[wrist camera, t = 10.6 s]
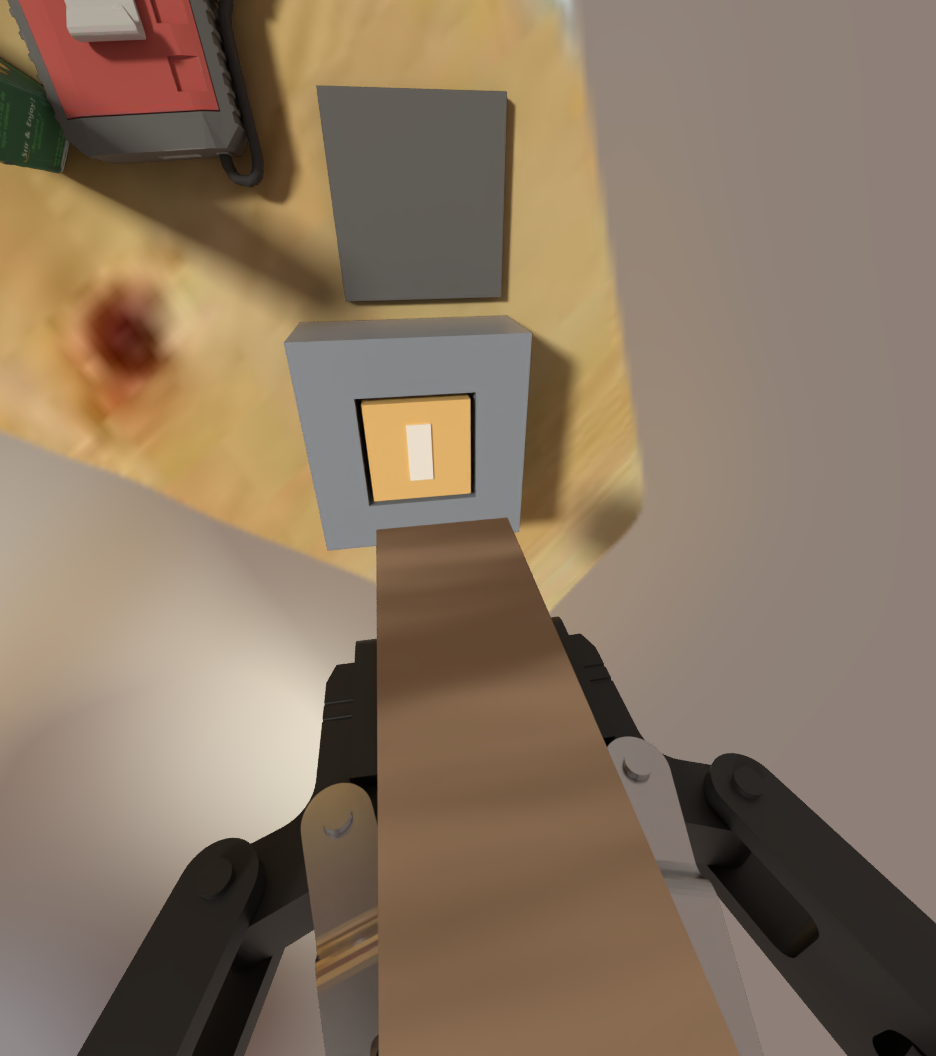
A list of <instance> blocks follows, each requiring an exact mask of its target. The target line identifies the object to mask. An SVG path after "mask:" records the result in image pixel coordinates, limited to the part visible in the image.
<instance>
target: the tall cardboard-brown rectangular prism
mask: <svg viewBox="0 0 936 1056" xmlns="http://www.w3.org/2000/svg"><path fill="white" fill-rule="evenodd" d="M376 554H377V778H378V1001H379V1056H740V1054H739V1052H738V1049H737V1047H736V1045H735V1042H734V1040H733V1038H732V1035H731V1033H730V1031H729V1028H728V1026H727V1024H726V1022H725V1019H724V1017H723V1015H722V1012H721V1010H720V1008H719V1005H718V1003H717V1001H716V998H715V996H714V994H713V991H712V989H711V987H710V985H709V982H708V980H707V978H706V975H705V973H704V971H703V968H702V966H701V964H700V961H699V959H698V957H697V954H696V952H695V950H694V948H693V945H692V943H691V941H690V938H689V936H688V934H687V931H686V929H685V927H684V924H683V922H682V920H681V917H680V915H679V913H678V911H677V908H676V906H675V904H674V901H673V899H672V897H671V894H670V892H669V890H668V887H667V885H666V883H665V880H664V878H663V876H662V874H661V871H660V869H659V867H658V864H657V862H656V860H655V857H654V855H653V853H652V850H651V848H650V846H649V844H648V841H647V839H646V837H645V834H644V832H643V830H642V827H641V825H640V823H639V820H638V818H637V816H636V813H635V811H634V809H633V807H632V804H631V802H630V800H629V797H628V795H627V793H626V790H625V788H624V786H623V783H622V781H621V779H620V776H619V774H618V772H617V770H616V767H615V765H614V763H613V760H612V758H611V756H610V753H609V751H608V749H607V746H606V744H605V742H604V739H603V737H602V735H601V733H600V730H599V728H598V726H597V723H596V721H595V719H594V716H593V714H592V712H591V709H590V707H589V705H588V702H587V700H586V698H585V696H584V693H583V691H582V689H581V686H580V684H579V682H578V679H577V677H576V675H575V672H574V670H573V668H572V665H571V663H570V661H569V659H568V656H567V654H566V652H565V649H564V647H563V645H562V642H561V640H560V638H559V635H558V633H557V631H556V628H555V626H554V624H553V622H552V619H551V617H550V615H549V612H548V610H547V608H546V605H545V603H544V601H543V598H542V596H541V594H540V591H539V589H538V587H537V585H536V582H535V580H534V578H533V575H532V573H531V571H530V568H529V566H528V564H527V561H526V559H525V557H524V554H523V552H522V550H521V548H520V545H519V543H518V541H517V538H516V536H515V534H514V531H513V529H512V527H511V524H510V522H509V520H508V517H506V518H496V519H485V520H474V521H463V522H453V523H442V524H431V525H421V526H410V527H399V528H389V529H378V530H376Z"/></svg>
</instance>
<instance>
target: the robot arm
mask: <svg viewBox="0 0 936 1056" xmlns="http://www.w3.org/2000/svg"><path fill="white" fill-rule="evenodd" d="M551 619H552V622H553V624H554V626H555V628H556V631H557V633H558V635H559V638H560V640H561V642H562V645H563V647H564V649H565V652H566V654H567V656H568V659H569V661H570V663H571V665H572V668H573V670H574V672H575V675H576V677H577V679H578V682H579V684H580V686H581V689H582V691H583V693H584V696H585V698H586V700H587V702H588V705H589V707H590V709H591V712H592V714H593V716H594V719H595V721H596V723H597V726H598V728H599V730H600V733H601V735H602V737H603V739H604V742H605V744H606V746H607V749H608V751H609V753H610V756H611V758H612V760H613V763H614V765H615V767H616V770H617V772H618V774H619V776H620V779H621V781H622V783H623V786H624V788H625V790H626V793H627V795H628V797H629V800H630V802H631V804H632V807H633V809H634V811H635V813H636V816H637V818H638V820H639V823H640V825H641V827H642V830H643V832H644V834H645V837H646V839H647V841H648V844H649V846H650V848H651V850H652V853H653V855H654V857H655V860H656V862H657V864H658V867H659V869H660V871H661V874H662V876H663V878H664V880H665V883H666V885H667V887H668V890H669V892H670V894H671V897H672V899H673V901H674V904H675V906H676V908H677V911H678V913H679V915H680V917H681V920H682V922H683V924H684V927H685V929H686V931H687V934H688V936H689V938H690V941H691V943H692V945H693V948H694V950H695V952H696V954H697V957H698V959H699V961H700V964H701V966H702V968H703V971H704V973H705V975H706V978H707V980H708V982H709V985H710V987H711V989H712V991H713V994H714V996H715V998H716V1001H717V1003H718V1005H719V1008H720V1010H721V1012H722V1015H723V1017H724V1019H725V1022H726V1024H727V1026H728V1028H729V1031H730V1033H731V1035H732V1038H733V1040H734V1042H735V1045H736V1047H737V1049H738V1052H739V1054H740V1056H764V1054H763V1051H762V1047H761V1044H760V1041H759V1037H758V1034H757V1031H756V1027H755V1023H754V1020H753V1017H752V1013H751V1009H750V1006H749V1002H748V999H747V996H746V992H745V989H744V985H743V982H742V978H741V975H740V971H739V968H738V965H737V961H736V958H735V954H734V951H733V947H732V944H731V940H730V937H729V933H728V930H727V926H726V923H725V919H724V916H723V912H722V909H721V905H720V902H719V899H718V897H719V898H720V899H721V901H722V902H723V903H724V904H725V906H726V907H727V908H728V909H729V910H730V912H731V913H732V914H733V915H734V917H735V918H736V919H737V920H738V922H739V923H740V924H741V925H742V927H743V928H744V929H745V930H746V931H747V933H748V934H749V935H750V936H751V938H752V939H753V940H754V941H755V943H756V944H757V945H758V946H759V947H760V949H761V950H762V951H763V952H764V953H765V955H766V956H767V957H768V959H769V960H770V961H771V962H772V963H773V965H774V966H775V967H776V968H777V969H778V971H779V972H780V973H781V974H782V976H783V977H784V978H785V979H786V981H787V982H788V983H789V984H790V986H791V987H792V988H793V989H794V990H795V992H796V993H797V994H798V995H799V997H800V998H801V999H802V1000H803V1002H804V1003H805V1004H806V1005H807V1006H808V1008H809V1009H810V1010H811V1011H812V1013H813V1014H814V1015H815V1016H816V1017H817V1018H818V1020H819V1021H820V1022H821V1024H822V1025H823V1026H824V1027H825V1029H826V1030H827V1031H828V1032H829V1034H831V1036H832V1037H833V1038H834V1040H835V1041H836V1042H837V1043H838V1045H839V1046H840V1047H841V1048H842V1049H843V1050H844V1052H845V1053H846V1054H847V1056H936V924H935V922H934V921H932V920H931V919H930V918H929V917H928V916H927V915H926V914H925V913H924V912H923V911H922V910H921V909H919V908H918V907H917V906H916V905H915V904H914V903H913V902H912V901H911V900H909V898H907V897H906V896H905V895H904V894H903V893H902V892H901V891H900V890H899V889H897V887H895V886H894V885H893V884H892V883H891V882H890V881H889V880H888V879H887V878H886V877H884V876H883V875H882V874H881V873H880V872H879V871H878V870H877V869H876V868H875V867H874V866H873V865H871V864H870V863H869V862H868V861H867V860H866V859H865V858H864V857H863V856H862V855H861V854H859V853H858V852H857V851H856V850H855V849H854V848H853V847H852V846H851V845H850V844H848V843H847V842H846V841H845V840H844V839H843V838H842V837H841V836H840V835H839V834H837V833H836V832H835V831H834V830H833V829H832V828H831V827H830V826H829V825H828V824H827V823H826V822H824V821H823V820H822V819H821V818H820V817H819V816H818V815H817V814H816V813H815V812H813V811H812V810H811V809H810V808H809V807H808V806H807V805H806V804H805V803H804V802H803V801H802V800H800V799H799V798H798V797H797V796H796V795H795V794H794V793H793V792H792V791H791V790H790V789H788V788H787V787H786V786H785V785H784V784H783V783H782V782H781V781H780V780H778V778H776V777H775V776H774V775H773V774H772V773H771V772H770V771H769V770H768V769H767V768H765V767H764V766H763V765H762V764H760V763H759V762H757V761H755V760H753V759H752V758H749V757H747V756H744V755H740V754H735V753H728V754H723V755H721V756H719V757H717V758H716V759H715V760H714V762H713V763H712V765H708V764H702V763H695V762H689V761H684V760H678V759H674V758H671V757H668V756H666V755H664V754H662V753H661V752H660V751H659V750H658V749H657V748H656V747H654V746H653V745H652V744H650V743H649V742H647V741H645V740H644V739H643V737H642V736H641V734H640V733H639V731H638V729H637V727H636V725H635V723H634V722H633V720H632V718H631V716H630V714H629V712H628V710H627V708H626V706H625V704H624V702H623V700H622V698H621V697H620V694H619V692H618V690H617V688H616V686H615V685H614V682H613V681H611V677H610V675H609V673H608V671H607V669H606V667H604V663H603V661H602V659H601V657H600V655H599V653H598V651H597V649H596V647H595V646H594V645H592V644H591V643H590V642H589V641H588V640H587V639H586V638H585V637H584V636H582V634H574V635H568V633H567V630H566V628H565V626H564V624H563V622H562V620H561V619H560V617H552V618H551ZM324 703H325V706H324V711H323V722H322V730H321V739H320V749H319V759H318V768H317V778H316V784H315V789H314V792H313V795H312V797H311V799H310V801H309V803H308V804H307V806H306V807H305V808H304V810H303V811H302V812H301V813H300V814H299V815H298V816H297V817H296V818H295V819H294V820H293V821H291V822H290V823H289V824H287V825H286V826H284V827H282V828H281V829H279V830H277V831H275V832H273V833H271V834H269V835H267V836H265V837H263V838H261V839H259V840H257V841H255V842H254V843H251V844H250V843H249V842H247V841H245V840H243V839H240V838H227V839H223V840H220V841H217V842H215V843H213V844H211V845H210V846H208V847H206V848H205V849H204V850H202V851H201V852H200V853H199V854H198V855H197V856H196V857H195V858H194V859H193V860H192V861H191V862H190V863H189V864H188V866H187V867H186V869H185V870H184V872H183V873H182V875H181V877H180V878H179V880H178V882H177V884H176V885H175V887H174V889H173V891H172V893H171V894H170V896H169V897H168V899H167V901H166V903H165V905H164V906H163V908H162V910H161V911H160V913H159V915H158V917H157V918H156V920H155V922H154V923H153V925H152V927H151V929H150V930H149V932H148V934H147V936H146V937H145V939H144V941H143V942H142V944H141V946H140V948H139V949H138V951H137V953H136V955H135V956H134V958H133V960H132V962H131V963H130V965H129V967H128V968H127V970H126V972H125V974H124V975H123V977H122V979H121V980H120V982H119V984H118V986H117V988H116V989H115V991H114V993H113V994H112V996H111V998H110V1000H109V1001H108V1003H107V1005H106V1006H105V1008H104V1010H103V1012H102V1013H101V1015H100V1017H99V1019H98V1020H97V1022H96V1024H95V1025H94V1027H93V1029H92V1031H91V1032H90V1034H89V1036H88V1038H87V1039H86V1041H85V1043H84V1044H83V1046H82V1048H81V1050H80V1051H79V1053H78V1055H77V1056H244V1054H245V1051H246V1049H247V1046H248V1044H249V1041H250V1039H251V1036H252V1033H253V1031H254V1028H255V1025H256V1023H257V1020H258V1017H259V1015H260V1012H261V1010H262V1007H263V1004H264V1001H265V999H266V996H267V994H268V991H269V988H270V986H271V983H272V980H273V978H274V975H275V972H276V970H277V967H278V965H279V962H280V959H281V957H282V954H283V951H284V949H285V947H287V946H288V945H290V944H292V943H293V942H295V941H297V940H298V939H300V938H301V937H303V936H304V935H306V934H308V933H309V932H311V931H313V930H314V932H315V939H316V948H317V958H316V963H315V971H316V985H317V993H318V1001H319V1009H320V1017H321V1024H322V1032H323V1039H324V1047H325V1055H326V1056H379V1001H378V778H377V639H371V640H363V641H356V646H355V663H348V664H340V665H336V667H335V669H334V671H333V672H332V674H331V676H330V677H329V679H328V681H327V683H326V692H325V701H324ZM717 896H718V897H717Z"/></svg>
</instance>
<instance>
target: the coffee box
mask: <svg viewBox="0 0 936 1056" xmlns="http://www.w3.org/2000/svg"><path fill="white" fill-rule="evenodd" d="M46 95H47V93H46V90H45V88H44V87H43V86H41V85H40V84H38V83H37V82H36V81H34V80H33V79H32V78H30V77H28V76H27V75H25V74H24V73H22V72H21V71H19V70H17V69H16V68H14V67H13V66H11V65H10V64H8V63H6V62H4V61H3V60H1V59H0V162H1V163H3V164H8V165H17V166H21V167H29V168H33V169H39V170H44V171H49V172H54V173H61V172H63V170H64V166H65V162H66V157H67V153H68V147H69V144H70V142H69V141H67V140H66V139H65V138H64V137H63V136H62V134H63V131H62V128H61V126H60V124H59V122H58V121H56V119H55V117H54V115H55V112H54V109H53V107H52V105H51V102H48V100H47V98H46Z"/></svg>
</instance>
